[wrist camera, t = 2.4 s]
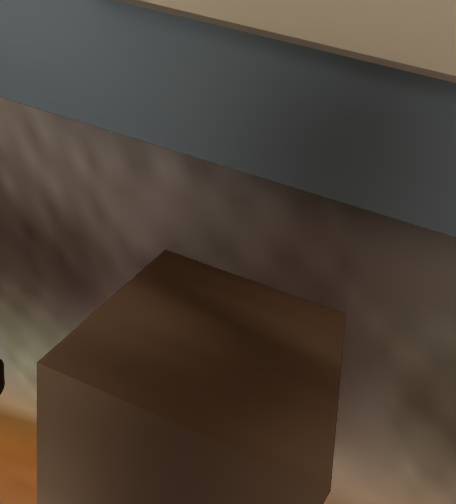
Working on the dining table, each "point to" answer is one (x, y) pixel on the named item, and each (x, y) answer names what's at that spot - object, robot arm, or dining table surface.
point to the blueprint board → (259, 88)
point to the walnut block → (191, 395)
